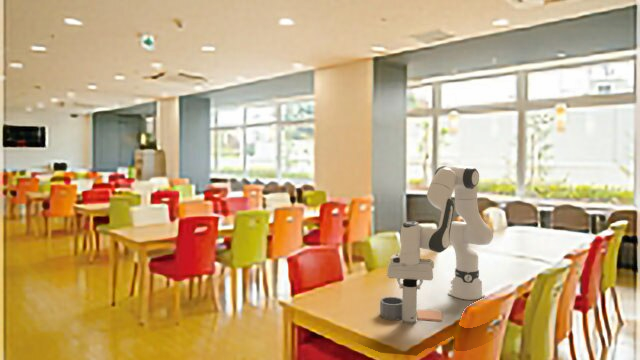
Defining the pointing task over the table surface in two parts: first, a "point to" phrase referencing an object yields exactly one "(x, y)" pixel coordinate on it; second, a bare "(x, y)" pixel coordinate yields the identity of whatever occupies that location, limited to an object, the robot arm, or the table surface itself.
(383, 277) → the table surface
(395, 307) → the faceted gray cup
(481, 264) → the table surface
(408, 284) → the travel mug
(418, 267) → the robot arm
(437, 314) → the terracotta tile
